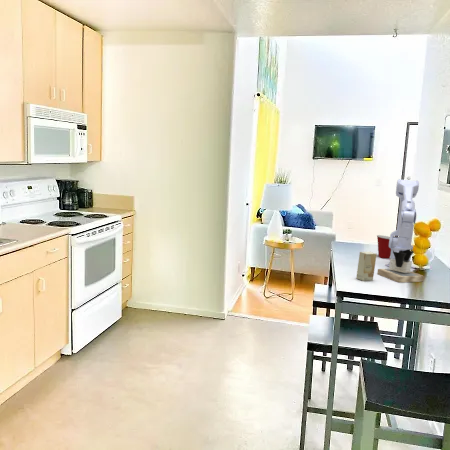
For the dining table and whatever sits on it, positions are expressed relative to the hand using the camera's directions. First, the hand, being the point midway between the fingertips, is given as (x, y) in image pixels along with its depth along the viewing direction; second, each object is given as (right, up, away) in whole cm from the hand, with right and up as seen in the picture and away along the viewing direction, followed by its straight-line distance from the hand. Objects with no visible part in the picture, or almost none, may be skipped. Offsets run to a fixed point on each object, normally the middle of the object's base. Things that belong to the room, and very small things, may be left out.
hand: (401, 266), depth 205 cm
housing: (0, -2, +1) cm, 2 cm away
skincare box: (-19, -5, -7) cm, 21 cm away
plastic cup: (+8, +1, +44) cm, 44 cm away
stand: (0, -5, +1) cm, 5 cm away
